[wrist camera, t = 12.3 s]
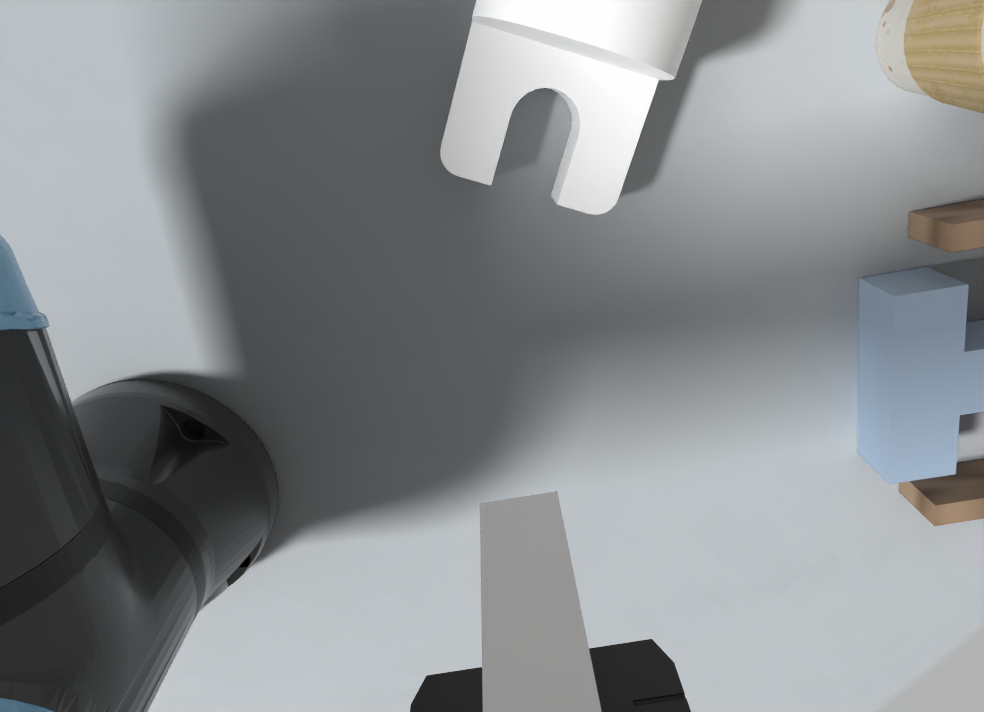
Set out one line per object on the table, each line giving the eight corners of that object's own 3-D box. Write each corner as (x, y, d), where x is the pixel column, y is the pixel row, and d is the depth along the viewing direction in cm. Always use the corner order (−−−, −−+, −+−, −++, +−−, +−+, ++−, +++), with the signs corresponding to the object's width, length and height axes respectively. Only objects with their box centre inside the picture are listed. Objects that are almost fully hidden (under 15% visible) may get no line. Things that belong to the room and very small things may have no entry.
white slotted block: (438, 162, 40) (426, 189, 30) (532, -214, 34) (556, -338, 24) (599, 208, 41) (640, 249, 31) (718, -147, 35) (817, -239, 25)
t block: (856, 452, 47) (888, 484, 43) (858, 277, 43) (894, 296, 39) (1012, 428, 47) (1058, 458, 43) (1029, 249, 42) (1082, 265, 39)
